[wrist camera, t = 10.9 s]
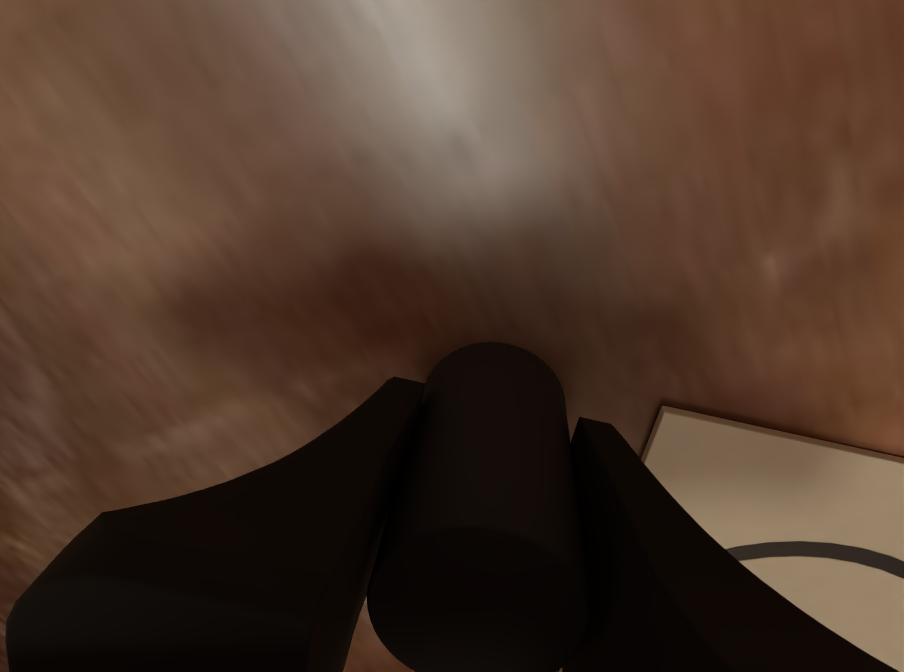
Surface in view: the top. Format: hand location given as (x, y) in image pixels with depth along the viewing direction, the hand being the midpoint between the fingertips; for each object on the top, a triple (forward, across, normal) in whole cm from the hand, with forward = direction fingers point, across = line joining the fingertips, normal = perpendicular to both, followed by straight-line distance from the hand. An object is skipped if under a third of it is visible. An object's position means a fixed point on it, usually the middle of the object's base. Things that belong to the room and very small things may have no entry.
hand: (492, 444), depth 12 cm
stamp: (+1, 0, 0) cm, 1 cm away
